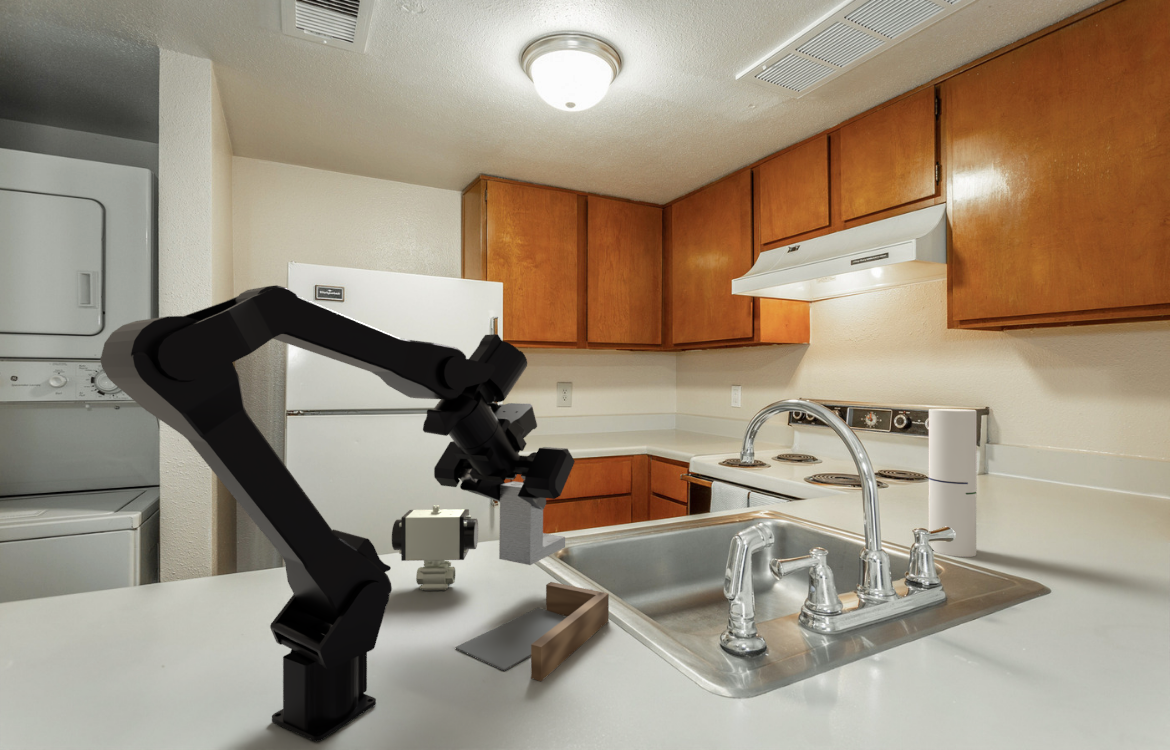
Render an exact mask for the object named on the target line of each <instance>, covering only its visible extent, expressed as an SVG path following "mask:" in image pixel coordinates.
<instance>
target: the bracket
mask: <svg viewBox="0 0 1170 750" xmlns="http://www.w3.org/2000/svg"><path fill="white" fill-rule="evenodd" d="M522 485H523V481H513V480H512V481H509V482H505V484H502V485H500V502H499V541H498V542H499V544H498V545H499V547H498V548H499V549H498V550H499V555H498V556H499V557H498V559H499V560H503V561H506V562H507V561H508V562H513V563H518V564H521V565H528V566H531V565H533V564H535V563H537V562H539V561H541V560H543V559H545V558H547V557H549V556H551V555H553V554H555V553H557V552H558V551H561V550H563V549H565V548H566V537H565V536H562V535H556V534H551V533H544V509H543V510H542V509H539V508H537V507H535V506H533V505H532V504H530V503H528V502H527V501H525V500H523V499H522V498H520V497H518V494H519V492H520V490H521V488H522Z"/></svg>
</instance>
